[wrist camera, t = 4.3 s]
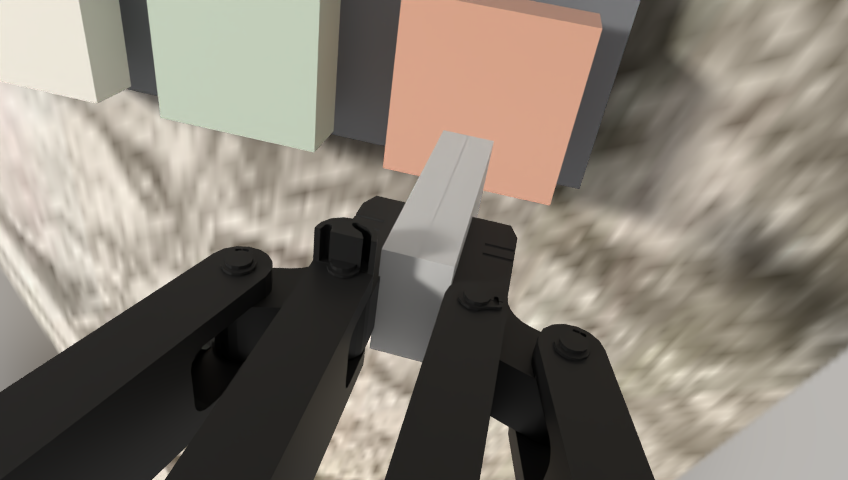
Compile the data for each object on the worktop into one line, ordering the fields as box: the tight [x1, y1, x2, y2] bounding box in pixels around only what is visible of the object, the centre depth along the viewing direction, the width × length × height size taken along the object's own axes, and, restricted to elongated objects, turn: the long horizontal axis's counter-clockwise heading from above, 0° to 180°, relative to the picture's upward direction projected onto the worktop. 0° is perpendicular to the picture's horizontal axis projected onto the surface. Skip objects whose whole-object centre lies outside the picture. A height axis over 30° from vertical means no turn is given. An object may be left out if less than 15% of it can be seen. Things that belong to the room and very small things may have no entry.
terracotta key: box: [383, 0, 602, 205], centre depth 23 cm, size 7×7×2 cm
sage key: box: [147, 0, 341, 152], centre depth 24 cm, size 7×7×2 cm
